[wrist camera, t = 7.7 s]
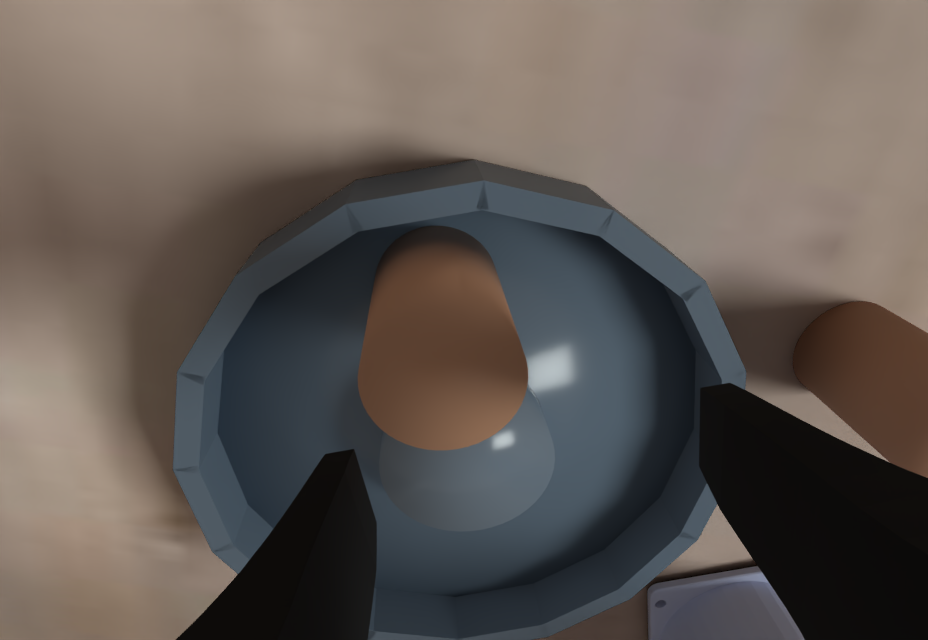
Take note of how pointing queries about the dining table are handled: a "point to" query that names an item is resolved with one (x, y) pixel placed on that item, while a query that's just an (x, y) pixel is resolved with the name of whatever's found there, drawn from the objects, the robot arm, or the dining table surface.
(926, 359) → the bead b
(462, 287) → the tan wooden cylinder
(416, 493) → the ring tray
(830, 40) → the dining table surface
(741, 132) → the dining table surface
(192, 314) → the dining table surface
